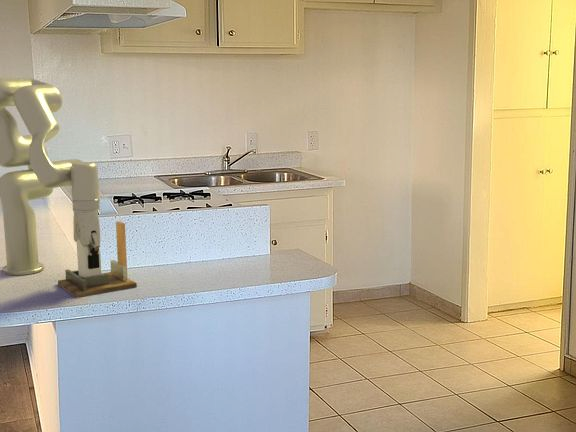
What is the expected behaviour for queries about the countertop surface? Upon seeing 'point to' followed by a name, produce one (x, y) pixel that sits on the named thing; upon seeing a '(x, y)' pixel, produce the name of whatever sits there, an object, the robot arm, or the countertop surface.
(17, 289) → the countertop surface
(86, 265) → the can
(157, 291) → the countertop surface
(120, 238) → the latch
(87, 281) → the can holder
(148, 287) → the countertop surface
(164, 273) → the countertop surface
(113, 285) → the rail board
